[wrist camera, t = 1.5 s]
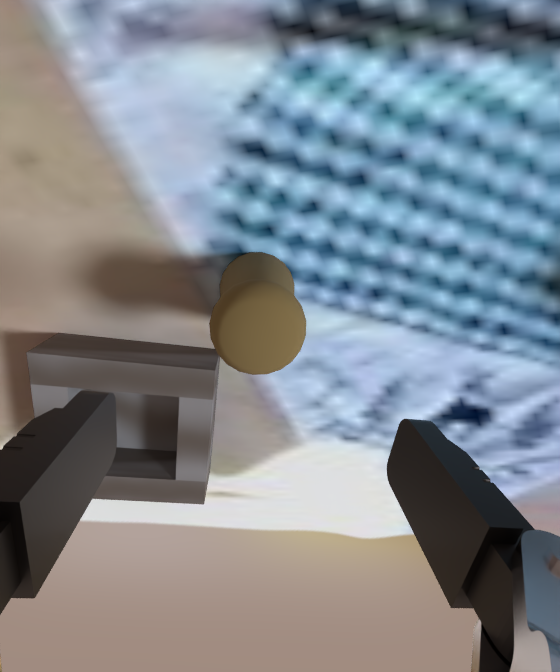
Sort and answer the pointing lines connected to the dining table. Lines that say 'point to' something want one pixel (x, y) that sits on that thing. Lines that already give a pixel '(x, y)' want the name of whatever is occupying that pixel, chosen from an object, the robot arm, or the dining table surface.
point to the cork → (257, 315)
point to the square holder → (139, 409)
